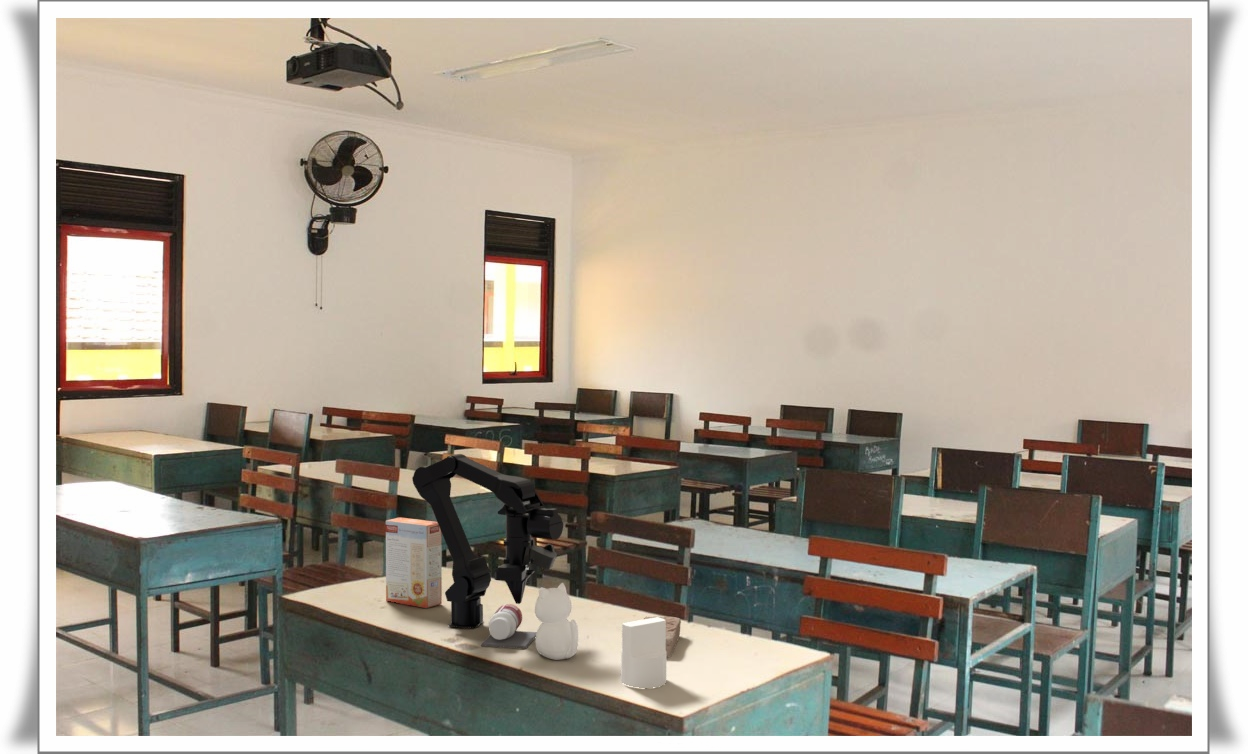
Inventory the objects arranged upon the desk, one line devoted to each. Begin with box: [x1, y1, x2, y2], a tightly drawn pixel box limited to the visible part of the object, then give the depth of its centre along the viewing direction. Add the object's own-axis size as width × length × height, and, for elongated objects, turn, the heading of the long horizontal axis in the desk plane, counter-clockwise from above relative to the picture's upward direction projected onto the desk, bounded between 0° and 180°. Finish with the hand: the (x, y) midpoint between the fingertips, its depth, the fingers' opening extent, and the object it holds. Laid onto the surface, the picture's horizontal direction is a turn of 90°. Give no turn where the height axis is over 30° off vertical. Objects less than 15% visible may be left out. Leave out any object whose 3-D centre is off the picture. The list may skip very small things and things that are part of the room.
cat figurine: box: [534, 582, 579, 661], centre depth 239 cm, size 9×12×15 cm
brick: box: [642, 616, 682, 658], centre depth 248 cm, size 17×8×5 cm, turn 170°
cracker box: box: [385, 517, 443, 609], centre depth 283 cm, size 14×6×21 cm, turn 58°
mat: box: [480, 630, 537, 650], centre depth 251 cm, size 10×11×1 cm
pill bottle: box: [488, 603, 523, 640], centre depth 252 cm, size 6×6×11 cm
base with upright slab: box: [620, 616, 667, 689], centre depth 223 cm, size 9×9×12 cm
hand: (518, 603), depth 256 cm, fingers closed
